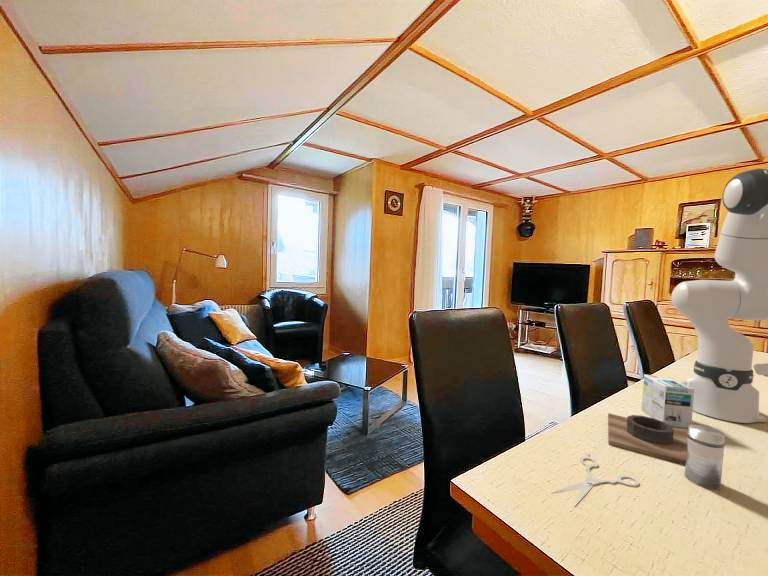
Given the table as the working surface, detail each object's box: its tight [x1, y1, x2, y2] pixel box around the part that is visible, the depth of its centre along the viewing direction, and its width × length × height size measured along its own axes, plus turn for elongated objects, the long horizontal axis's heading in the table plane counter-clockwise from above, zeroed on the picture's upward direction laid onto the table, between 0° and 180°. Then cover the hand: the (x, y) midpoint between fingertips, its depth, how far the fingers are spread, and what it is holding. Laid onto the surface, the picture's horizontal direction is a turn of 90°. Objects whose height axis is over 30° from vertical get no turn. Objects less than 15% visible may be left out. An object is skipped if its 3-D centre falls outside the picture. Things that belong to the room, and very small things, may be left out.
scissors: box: [551, 452, 640, 508], centre depth 62 cm, size 11×1×20 cm
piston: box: [684, 424, 726, 490], centre depth 63 cm, size 5×5×10 cm
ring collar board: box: [607, 412, 688, 466], centre depth 79 cm, size 18×16×4 cm
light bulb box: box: [640, 374, 694, 429], centre depth 91 cm, size 11×7×11 cm, turn 168°
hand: (758, 370), depth 59 cm, fingers open, 8 cm apart
